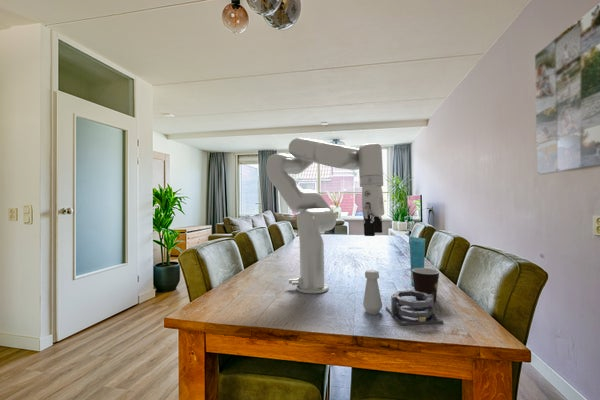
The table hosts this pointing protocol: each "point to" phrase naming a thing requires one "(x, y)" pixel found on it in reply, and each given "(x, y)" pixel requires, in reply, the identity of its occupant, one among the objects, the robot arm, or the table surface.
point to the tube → (416, 253)
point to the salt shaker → (372, 293)
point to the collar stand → (413, 308)
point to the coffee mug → (425, 281)
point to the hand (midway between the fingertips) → (373, 234)
